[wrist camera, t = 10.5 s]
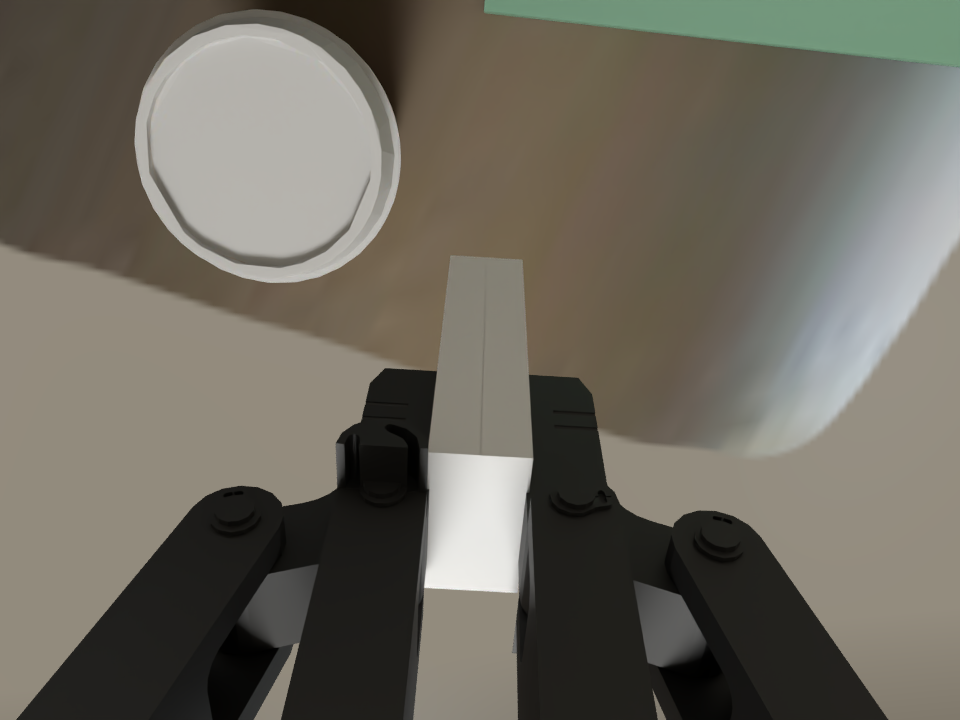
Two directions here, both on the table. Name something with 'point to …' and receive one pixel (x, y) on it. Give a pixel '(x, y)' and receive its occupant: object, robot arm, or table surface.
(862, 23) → the motherboard
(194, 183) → the disposable coffee cup
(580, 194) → the table surface
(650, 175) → the table surface
